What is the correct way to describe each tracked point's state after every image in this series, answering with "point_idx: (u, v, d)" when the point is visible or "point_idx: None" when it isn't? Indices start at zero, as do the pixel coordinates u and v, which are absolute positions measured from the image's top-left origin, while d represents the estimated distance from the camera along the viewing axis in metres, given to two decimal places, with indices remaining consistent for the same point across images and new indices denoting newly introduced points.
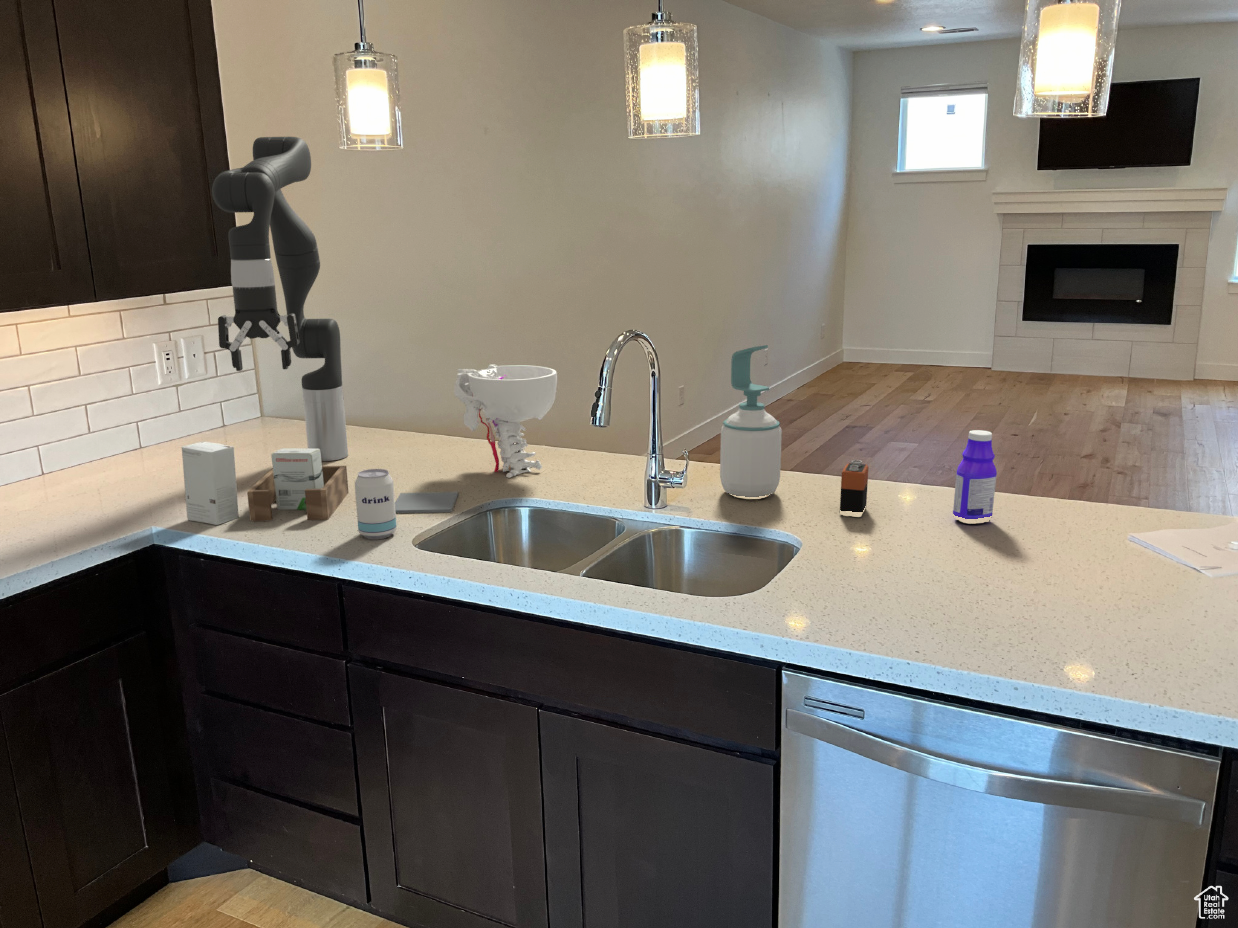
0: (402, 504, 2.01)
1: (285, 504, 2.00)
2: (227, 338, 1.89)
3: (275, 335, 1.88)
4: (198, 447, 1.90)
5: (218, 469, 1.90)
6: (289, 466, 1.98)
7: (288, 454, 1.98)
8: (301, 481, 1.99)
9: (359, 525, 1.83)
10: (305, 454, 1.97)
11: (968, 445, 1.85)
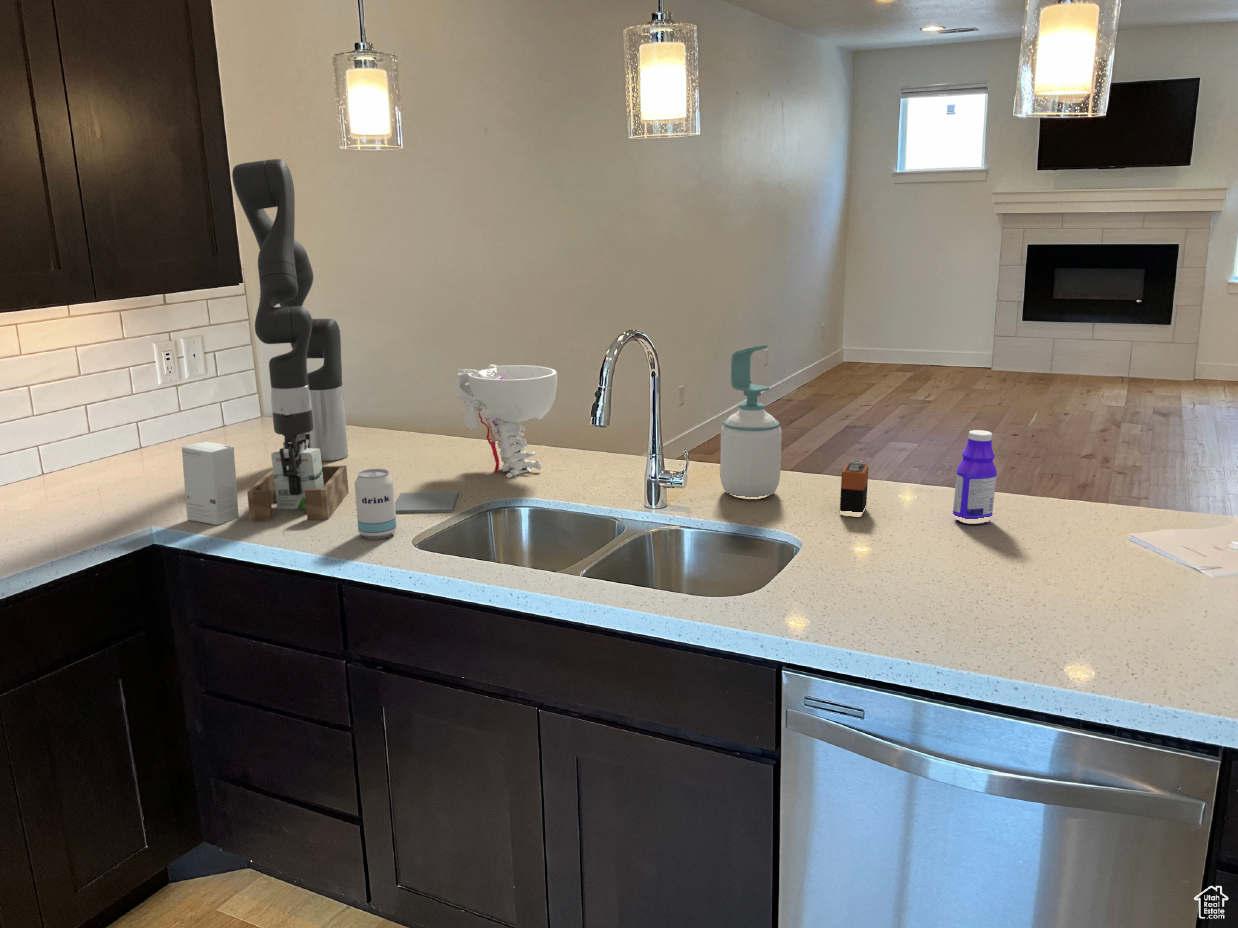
0: (402, 504, 2.01)
1: (285, 504, 2.00)
2: None
3: None
4: (198, 447, 1.90)
5: (219, 469, 1.90)
6: None
7: None
8: (301, 481, 1.99)
9: (359, 525, 1.83)
10: (305, 454, 1.97)
11: (968, 445, 1.85)
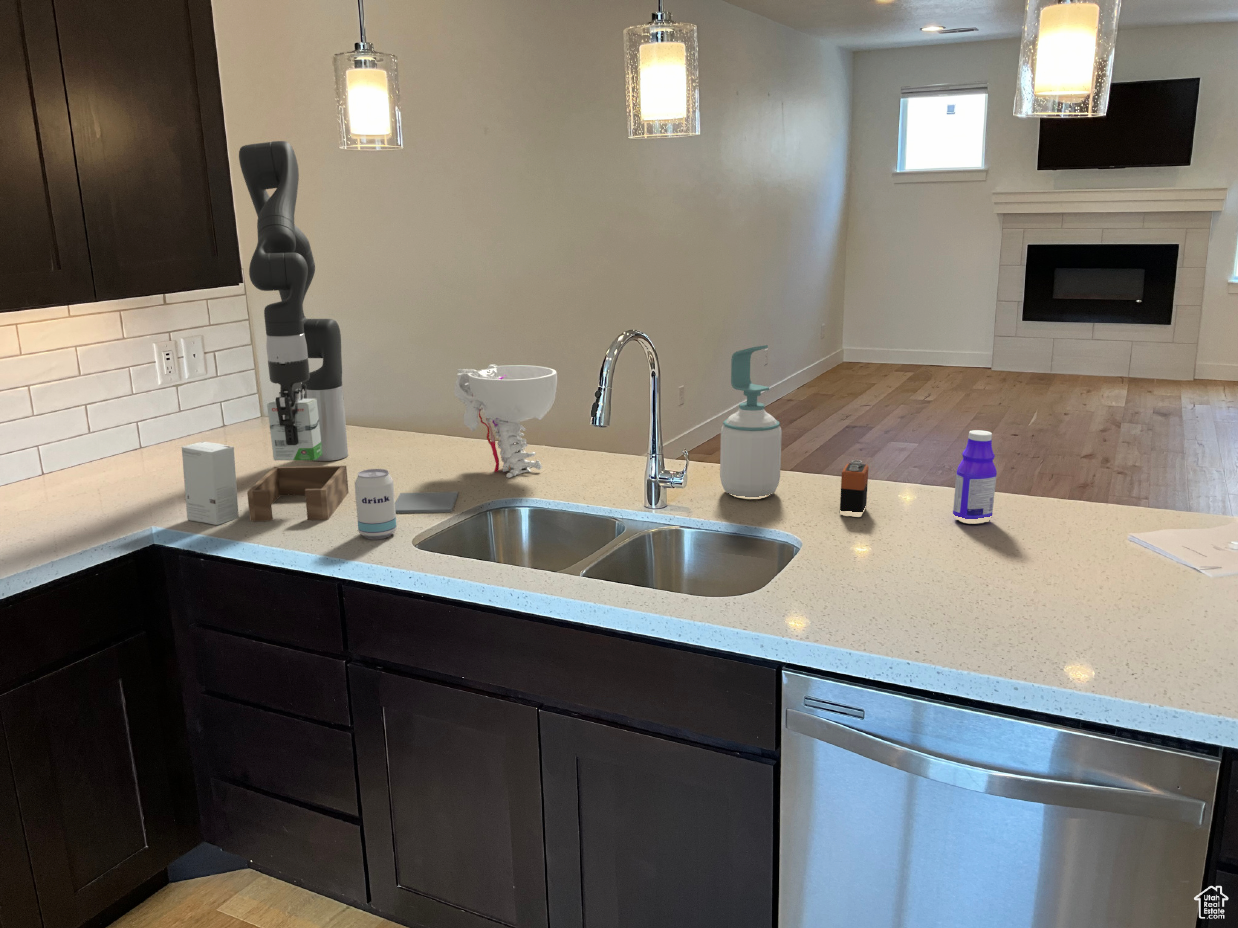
0: (402, 504, 2.01)
1: (282, 455, 1.98)
2: None
3: None
4: (198, 447, 1.90)
5: (219, 469, 1.90)
6: None
7: None
8: (297, 431, 1.96)
9: (359, 525, 1.83)
10: (301, 403, 1.95)
11: (968, 445, 1.85)
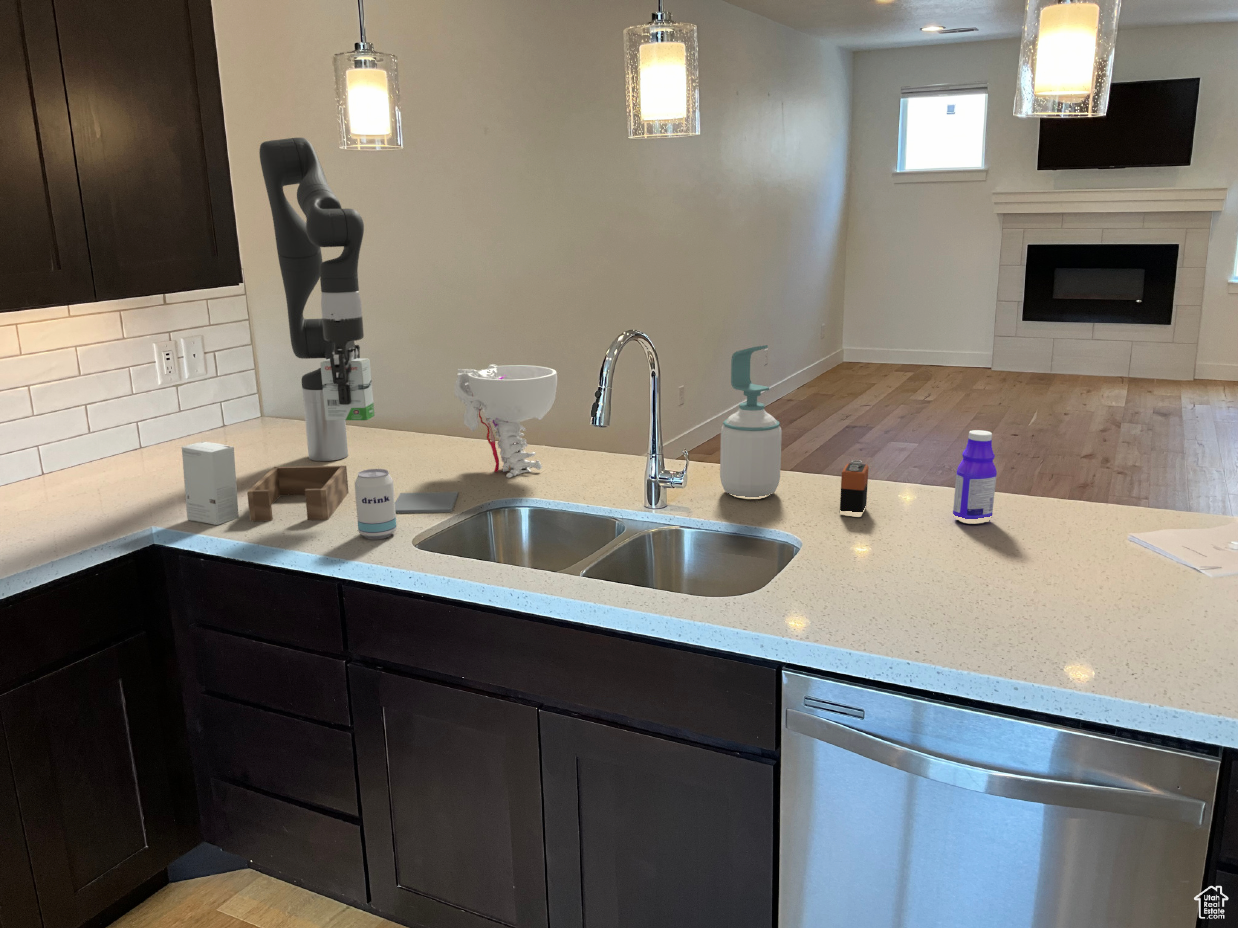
0: (402, 504, 2.01)
1: (334, 415, 1.96)
2: None
3: None
4: (198, 447, 1.90)
5: (219, 469, 1.90)
6: None
7: None
8: (350, 390, 1.94)
9: (359, 525, 1.83)
10: (355, 362, 1.93)
11: (968, 445, 1.85)
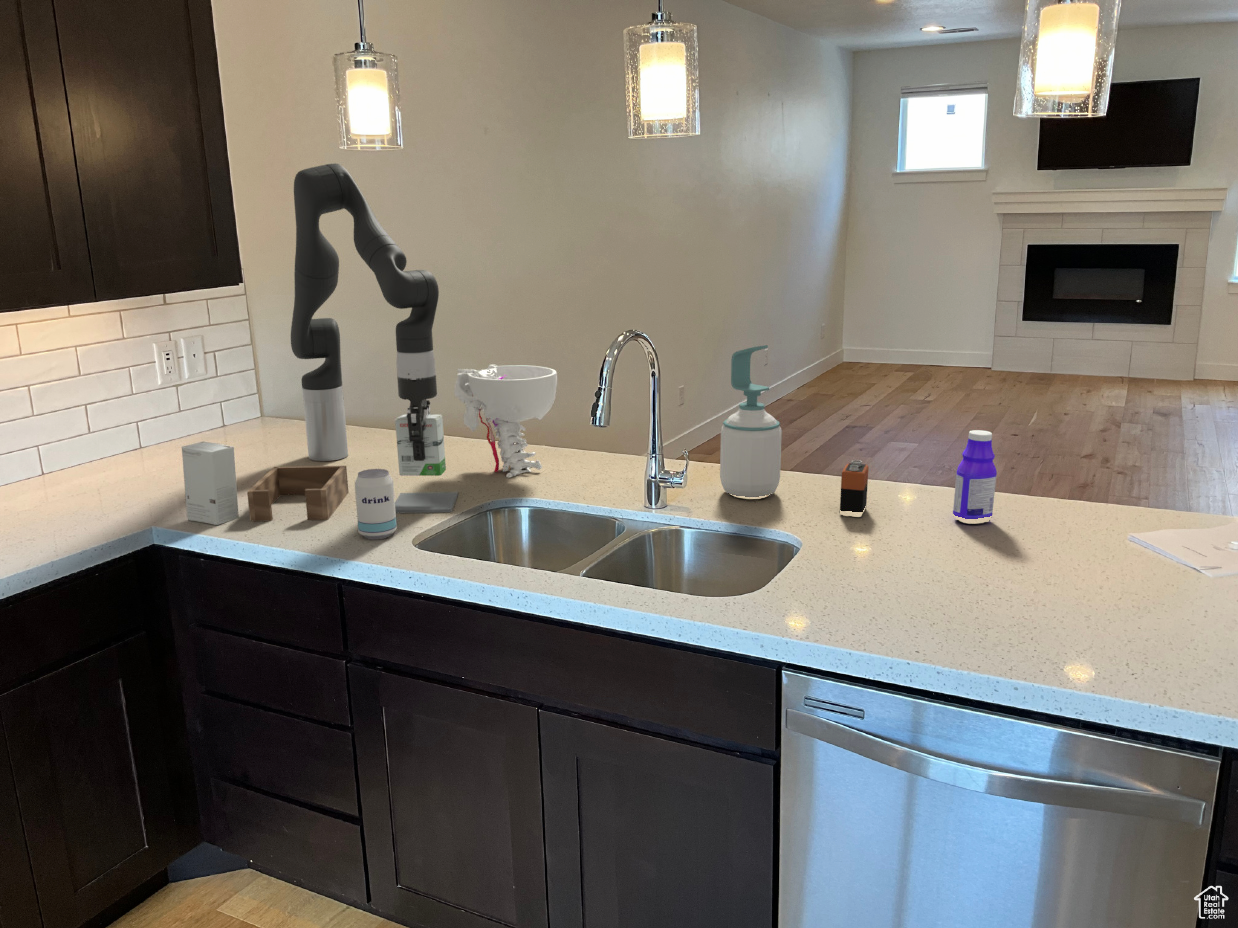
0: (402, 504, 2.01)
1: (408, 470, 2.00)
2: None
3: None
4: (198, 447, 1.90)
5: (219, 469, 1.90)
6: None
7: None
8: None
9: (359, 525, 1.83)
10: (430, 419, 1.97)
11: (968, 445, 1.85)
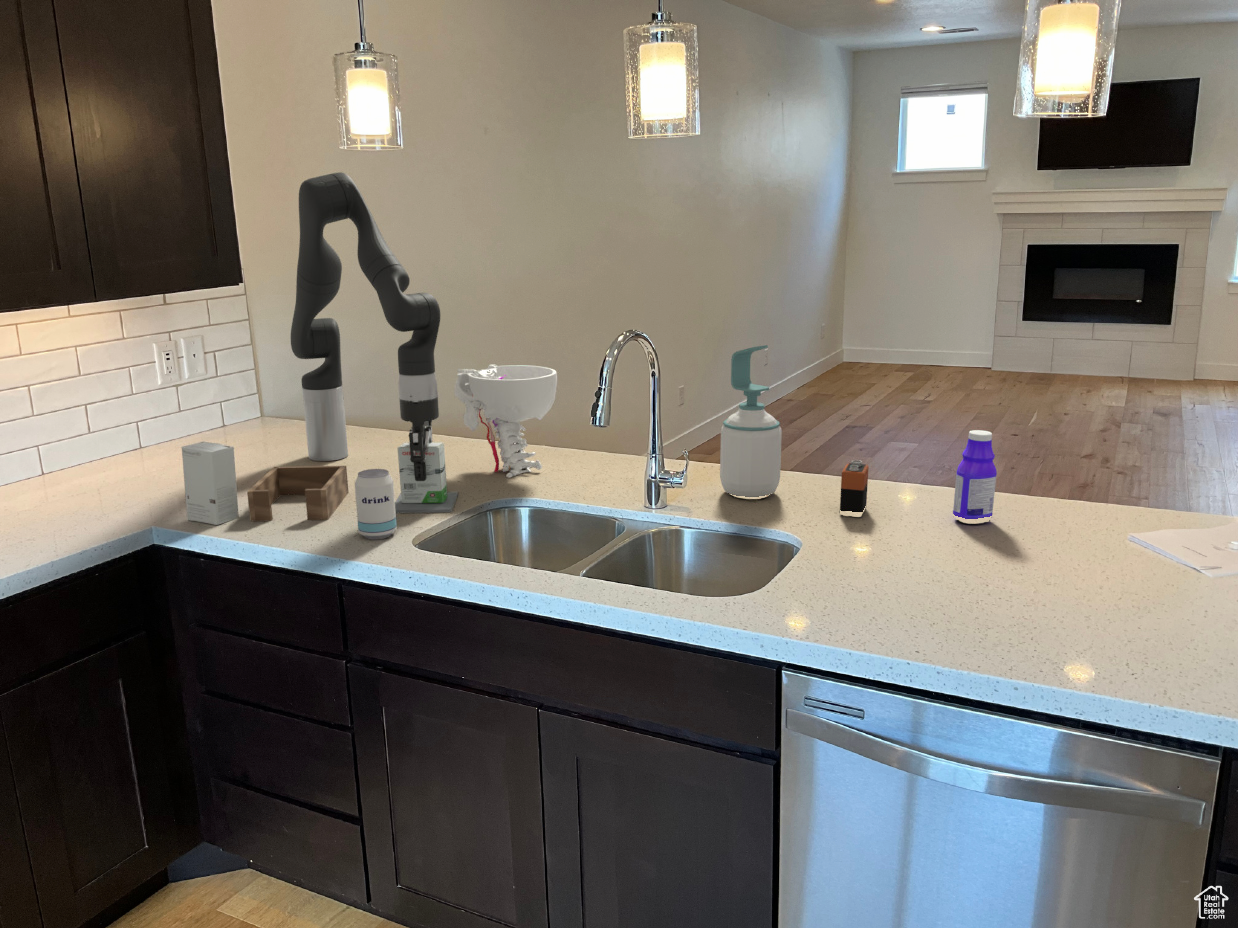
0: (402, 504, 2.01)
1: (410, 498, 2.01)
2: None
3: (432, 439, 2.04)
4: (198, 447, 1.90)
5: (219, 469, 1.90)
6: None
7: None
8: (427, 474, 2.00)
9: (359, 525, 1.83)
10: (432, 447, 1.99)
11: (968, 445, 1.85)
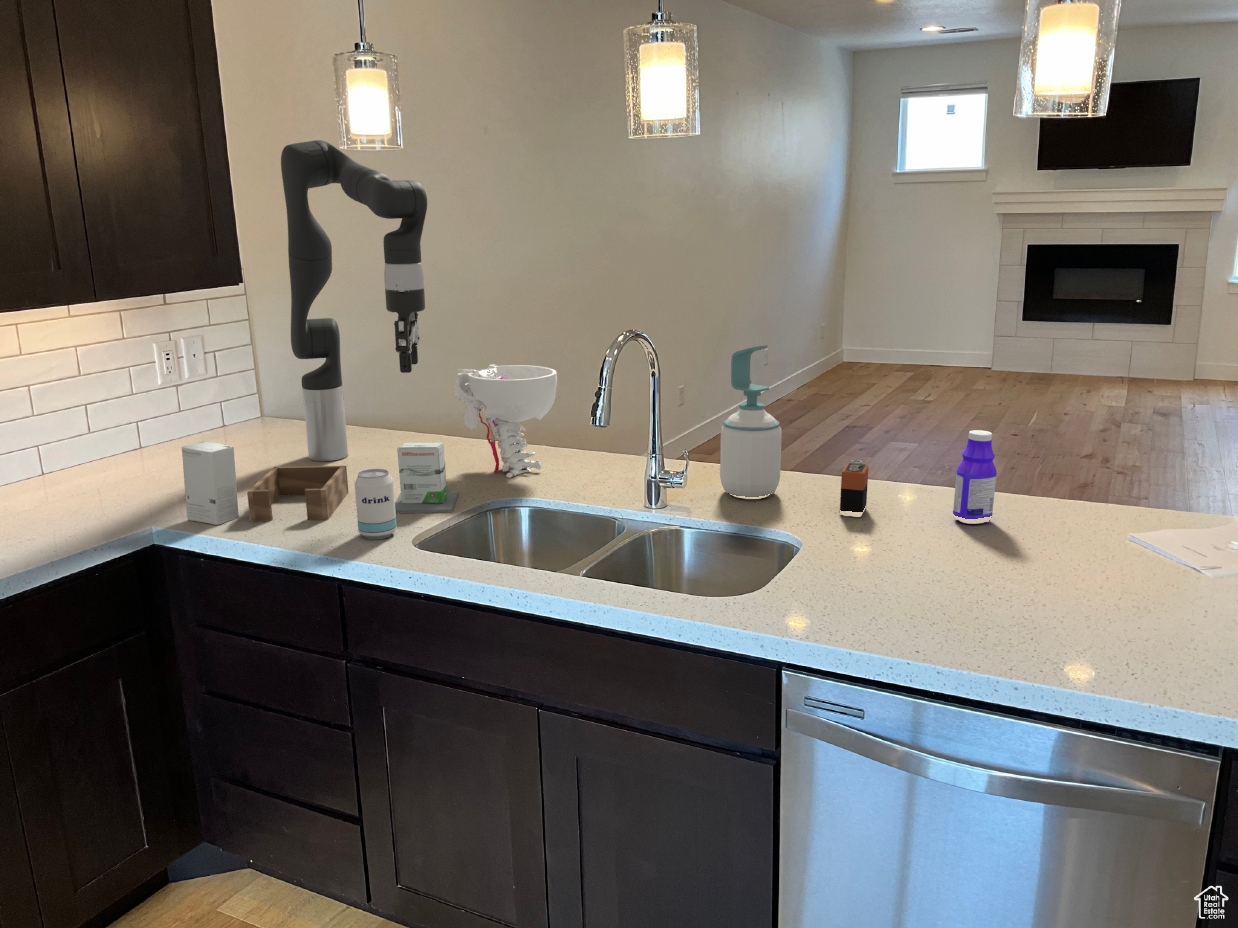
0: (402, 504, 2.01)
1: (410, 498, 2.01)
2: None
3: (418, 332, 2.01)
4: (198, 447, 1.90)
5: (219, 469, 1.90)
6: (415, 460, 1.99)
7: (415, 448, 1.99)
8: (427, 475, 2.00)
9: (359, 525, 1.83)
10: (432, 448, 1.98)
11: (968, 445, 1.85)
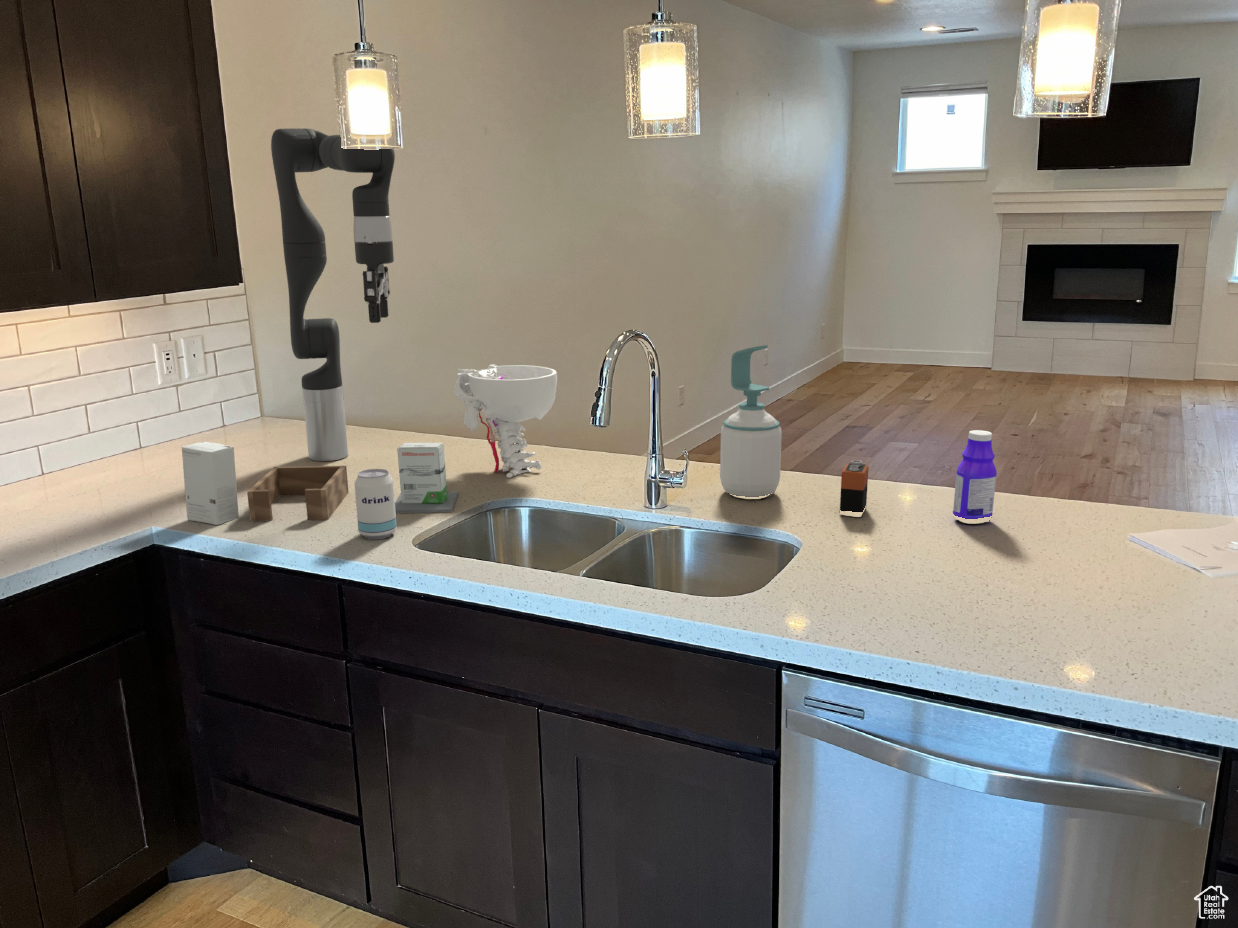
0: (402, 504, 2.01)
1: (410, 498, 2.01)
2: None
3: (388, 285, 2.07)
4: (198, 447, 1.90)
5: (219, 469, 1.90)
6: (415, 460, 1.99)
7: (415, 448, 1.99)
8: (427, 475, 2.00)
9: (359, 525, 1.83)
10: (432, 448, 1.98)
11: (968, 445, 1.85)
